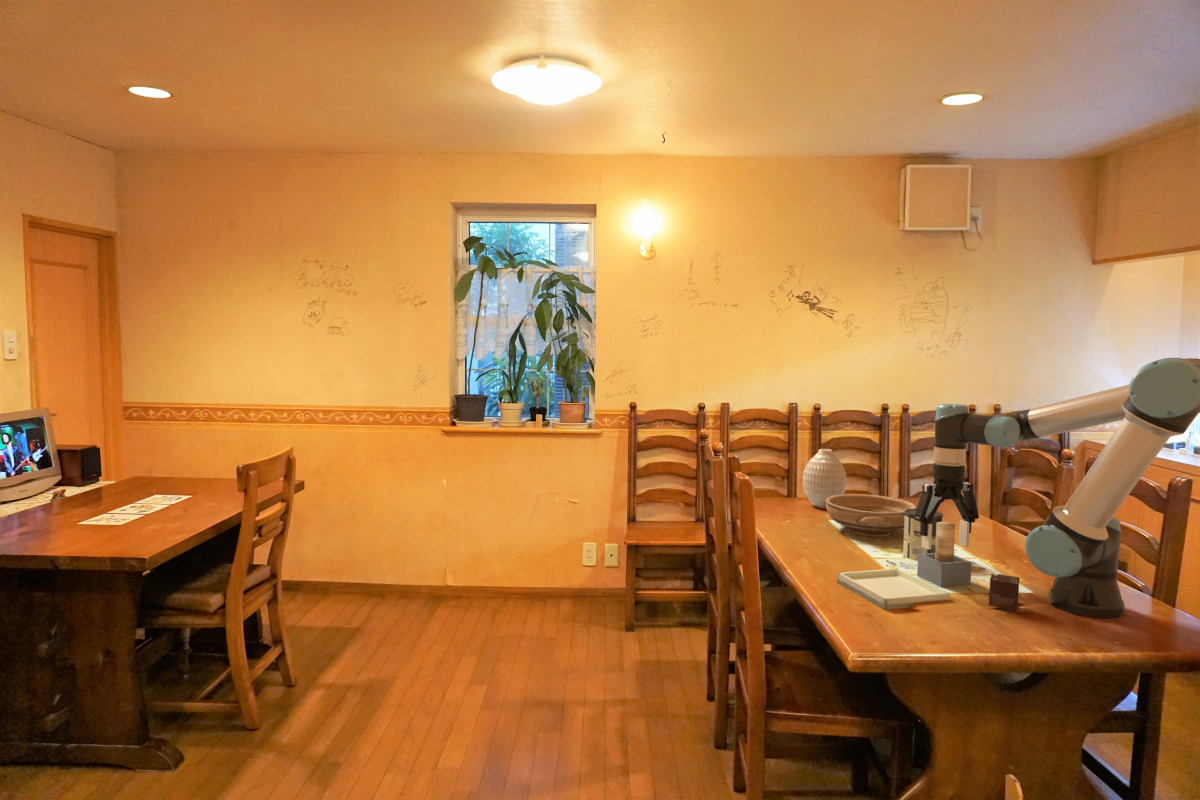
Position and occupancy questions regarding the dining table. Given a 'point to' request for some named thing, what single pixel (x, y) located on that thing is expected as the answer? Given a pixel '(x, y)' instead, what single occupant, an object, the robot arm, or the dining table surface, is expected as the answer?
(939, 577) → the grey square bin
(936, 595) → the tray
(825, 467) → the vase
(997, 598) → the box
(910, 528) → the coffee can
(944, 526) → the dowel
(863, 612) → the dining table surface
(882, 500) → the ceramic bowl
